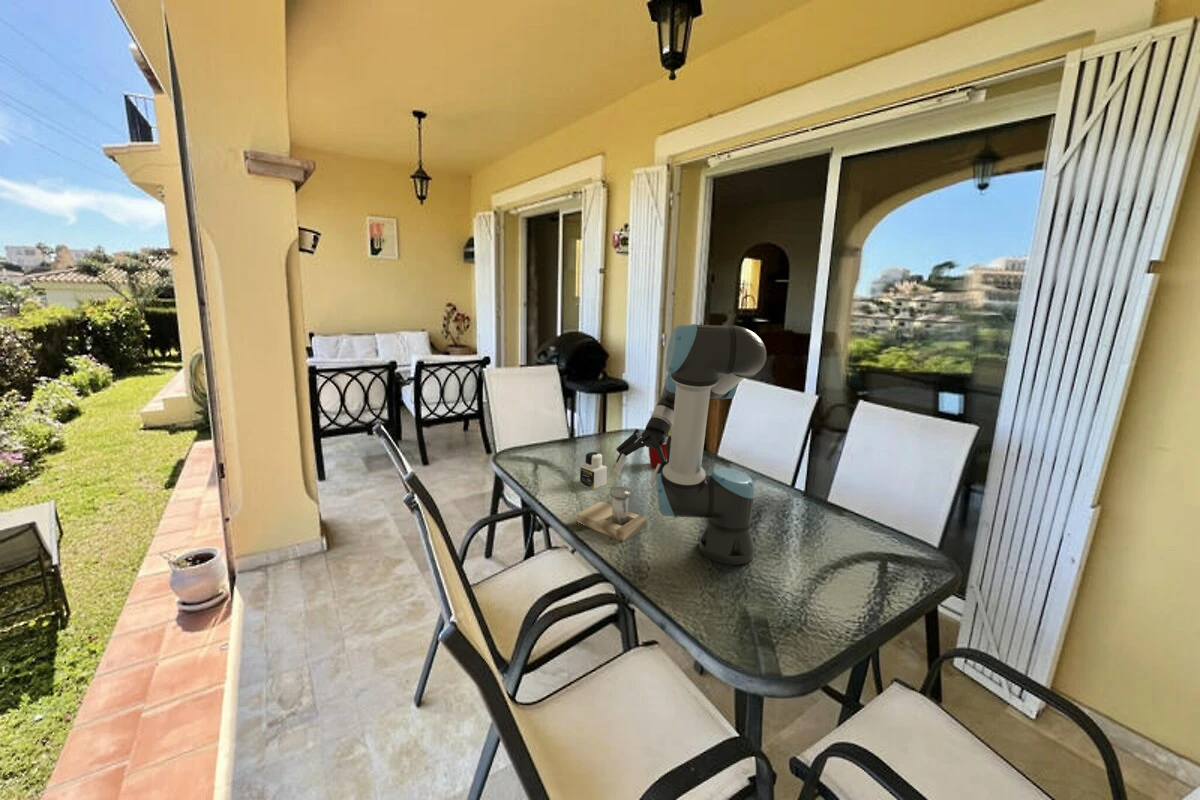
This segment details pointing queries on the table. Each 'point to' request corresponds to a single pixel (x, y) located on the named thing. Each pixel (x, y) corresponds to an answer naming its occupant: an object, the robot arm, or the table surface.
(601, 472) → the medicine bottle
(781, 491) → the table surface
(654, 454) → the plastic cup
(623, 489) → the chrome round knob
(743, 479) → the robot arm
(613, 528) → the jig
